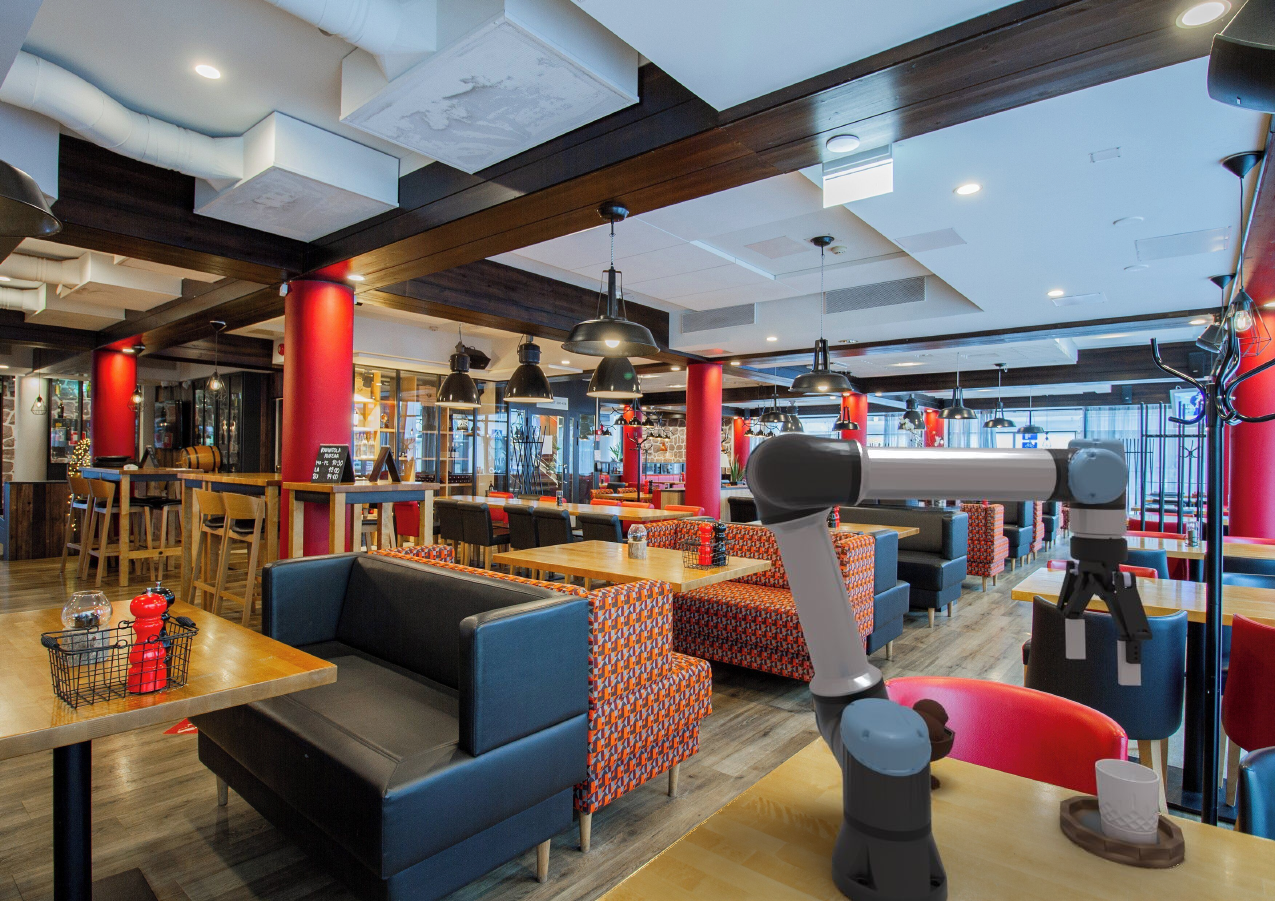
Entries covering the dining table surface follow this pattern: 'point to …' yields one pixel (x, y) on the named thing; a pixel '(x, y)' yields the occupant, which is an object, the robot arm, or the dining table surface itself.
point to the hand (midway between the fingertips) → (1100, 670)
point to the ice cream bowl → (936, 731)
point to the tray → (1086, 832)
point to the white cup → (1128, 800)
